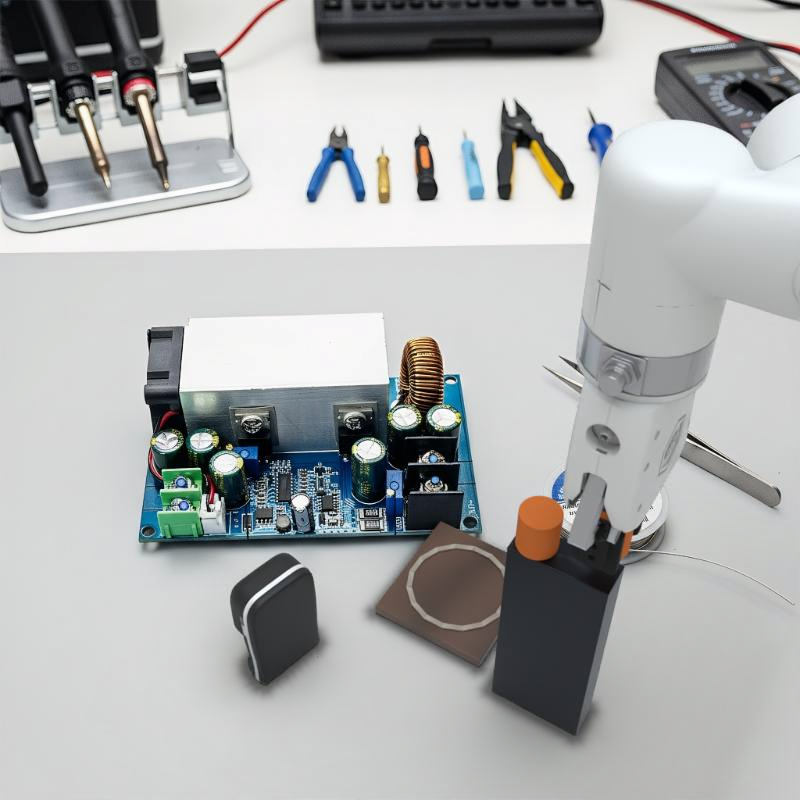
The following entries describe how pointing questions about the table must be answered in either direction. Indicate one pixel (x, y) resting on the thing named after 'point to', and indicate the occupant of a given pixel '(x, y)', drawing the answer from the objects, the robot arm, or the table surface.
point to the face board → (450, 593)
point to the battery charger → (276, 614)
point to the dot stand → (553, 634)
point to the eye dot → (539, 527)
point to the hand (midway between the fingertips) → (606, 542)
